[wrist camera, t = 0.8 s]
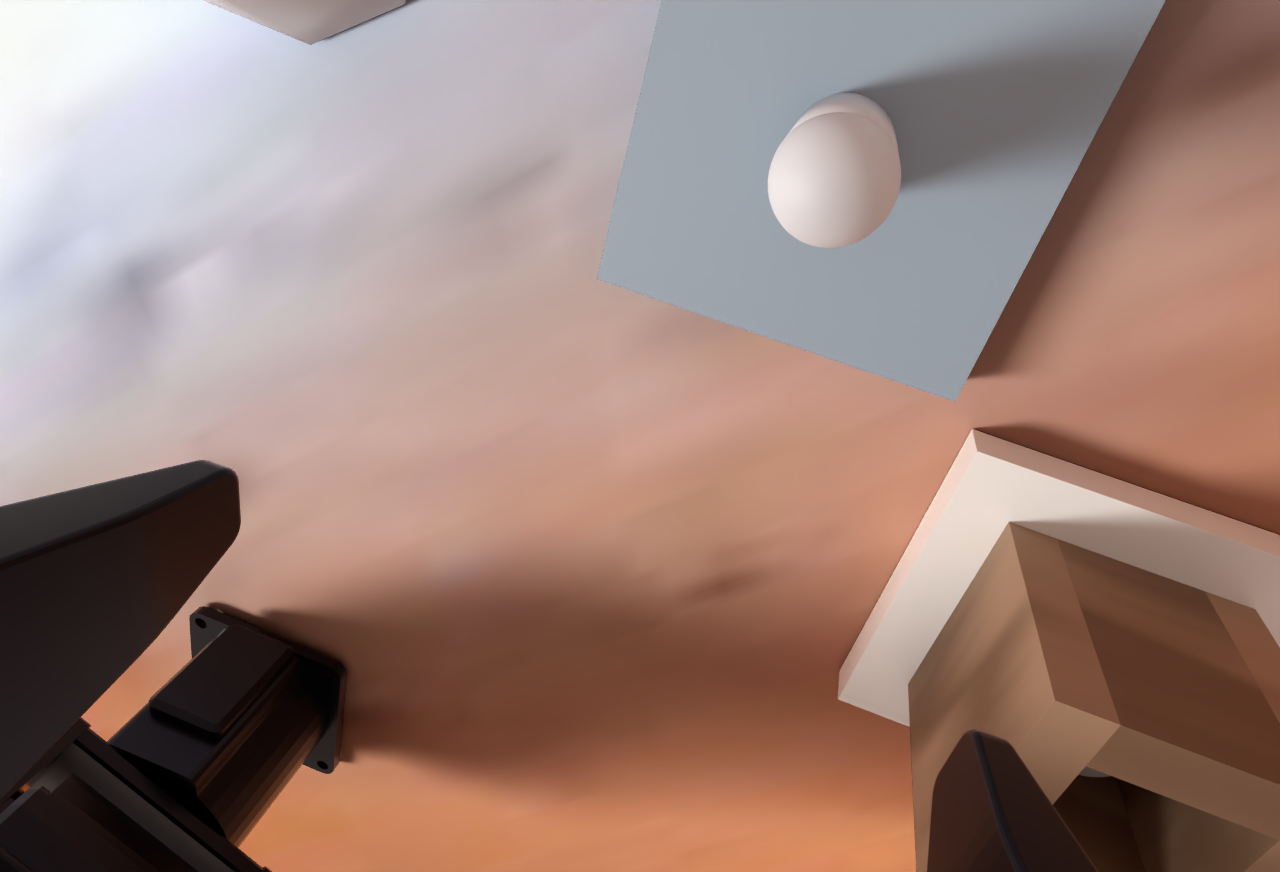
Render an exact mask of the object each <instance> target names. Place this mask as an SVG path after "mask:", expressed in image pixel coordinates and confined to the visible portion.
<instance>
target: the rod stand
mask: <svg viewBox="0 0 1280 872" xmlns="http://www.w3.org/2000/svg"><path fill="white" fill-rule="evenodd" d="M1008 522H1011V523H1014V524H1017V525H1020V526H1023V527H1025V528H1028V529H1031V530H1034V531H1037V532H1039V533H1042V534H1045V535H1048V536H1051V537H1053V538H1056V539H1059V540H1062V541H1065V542H1068V543H1070V544H1073V545H1076V546H1079V547H1082V548H1084V549H1087V550H1090V551H1093V552H1096V553H1099V554H1101V555H1104V556H1107V557H1110V558H1113V559H1115V560H1118V561H1121V562H1124V563H1127V564H1130V565H1132V566H1135V567H1138V568H1141V569H1144V570H1146V571H1149V572H1152V573H1155V574H1158V575H1160V576H1163V577H1166V578H1169V579H1172V580H1175V581H1177V582H1180V583H1183V584H1186V585H1189V586H1191V587H1194V588H1197V589H1200V590H1203V591H1206V592H1208V593H1211V594H1214V595H1217V596H1220V597H1222V598H1225V599H1228V600H1231V601H1234V602H1236V603H1239V604H1242V605H1245V606H1248V607H1251V608H1253V609H1256V611H1257V613H1258V614H1259V616H1260V617H1261V619H1262V620H1263V622H1264V624H1265V625H1266V627H1267V628H1268V630H1269V631H1270V633H1271V635H1272V636H1273V638H1274V639H1275V641H1276V642H1277V644H1278V646H1279V647H1280V535H1278V534H1275V533H1272V532H1269V531H1266V530H1264V529H1261V528H1258V527H1255V526H1252V525H1249V524H1246V523H1243V522H1240V521H1237V520H1235V519H1232V518H1229V517H1226V516H1223V515H1220V514H1217V513H1214V512H1211V511H1208V510H1206V509H1203V508H1200V507H1197V506H1194V505H1191V504H1188V503H1185V502H1182V501H1179V500H1177V499H1174V498H1171V497H1168V496H1165V495H1162V494H1159V493H1156V492H1153V491H1150V490H1148V489H1145V488H1142V487H1139V486H1136V485H1133V484H1130V483H1127V482H1124V481H1122V480H1119V479H1116V478H1113V477H1110V476H1107V475H1104V474H1101V473H1098V472H1095V471H1093V470H1090V469H1087V468H1084V467H1081V466H1078V465H1075V464H1072V463H1069V462H1066V461H1064V460H1061V459H1058V458H1055V457H1052V456H1049V455H1046V454H1043V453H1040V452H1037V451H1035V450H1032V449H1029V448H1026V447H1023V446H1020V445H1017V444H1014V443H1011V442H1008V441H1006V440H1003V439H1000V438H997V437H994V436H991V435H988V434H985V433H982V432H979V431H977V430H974V429H972V430H971V432H970V434H969V436H968V437H967V439H966V441H965V443H964V445H963V447H962V448H961V450H960V452H959V454H958V456H957V457H956V459H955V461H954V463H953V465H952V467H951V468H950V470H949V472H948V474H947V476H946V477H945V479H944V481H943V483H942V485H941V487H940V488H939V490H938V492H937V494H936V496H935V498H934V499H933V501H932V503H931V505H930V507H929V508H928V510H927V512H926V514H925V516H924V518H923V519H922V521H921V523H920V525H919V527H918V529H917V530H916V532H915V534H914V536H913V538H912V539H911V541H910V543H909V545H908V547H907V549H906V550H905V552H904V554H903V556H902V558H901V560H900V561H899V563H898V565H897V567H896V569H895V570H894V572H893V574H892V576H891V578H890V580H889V581H888V583H887V585H886V587H885V589H884V590H883V592H882V594H881V596H880V598H879V600H878V601H877V603H876V605H875V607H874V609H873V611H872V612H871V614H870V616H869V618H868V620H867V621H866V623H865V625H864V627H863V629H862V631H861V632H860V634H859V636H858V638H857V640H856V642H855V643H854V645H853V647H852V649H851V651H850V652H849V654H848V656H847V658H846V660H845V662H844V663H843V665H842V667H841V669H840V671H839V687H838V700H841V701H843V702H846V703H849V704H851V705H854V706H856V707H859V708H861V709H864V710H867V711H869V712H872V713H874V714H877V715H880V716H882V717H885V718H887V719H890V720H893V721H895V722H898V723H900V724H903V725H906V726H908V727H910V720H909V698H908V683H909V682H910V680H911V678H912V677H913V675H914V674H915V672H916V670H917V669H918V667H919V665H920V664H921V662H922V661H923V659H924V657H925V656H926V654H927V653H928V651H929V649H930V648H931V646H932V645H933V643H934V641H935V640H936V638H937V636H938V635H939V633H940V632H941V630H942V628H943V627H944V625H945V624H946V622H947V620H948V619H949V617H950V616H951V614H952V612H953V611H954V609H955V608H956V606H957V604H958V603H959V601H960V599H961V598H962V596H963V595H964V593H965V591H966V590H967V588H968V587H969V585H970V583H971V582H972V580H973V579H974V577H975V575H976V574H977V572H978V570H979V569H980V567H981V566H982V564H983V562H984V561H985V559H986V558H987V556H988V554H989V553H990V551H991V550H992V548H993V546H994V545H995V543H996V541H997V540H998V538H999V537H1000V535H1001V533H1002V532H1003V530H1004V529H1005V527H1006V525H1007V524H1008ZM1079 775H1082V776H1088V777H1109V776H1110V775H1108V774H1105V773H1103V772H1100V771H1097V770H1095V769H1092V768H1090V767H1087V766H1085V768H1084V769H1083V770H1082V771H1081V772H1080V773H1079Z"/></svg>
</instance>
